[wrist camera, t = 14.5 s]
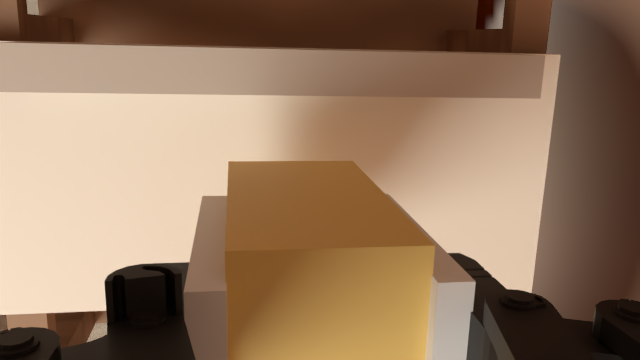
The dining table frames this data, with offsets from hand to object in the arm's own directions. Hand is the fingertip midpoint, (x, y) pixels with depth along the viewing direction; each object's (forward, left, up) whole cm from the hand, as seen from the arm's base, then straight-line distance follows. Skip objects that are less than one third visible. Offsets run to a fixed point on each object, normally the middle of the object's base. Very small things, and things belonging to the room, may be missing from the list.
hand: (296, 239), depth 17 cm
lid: (0, 0, -6) cm, 6 cm away
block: (0, 0, -2) cm, 2 cm away
